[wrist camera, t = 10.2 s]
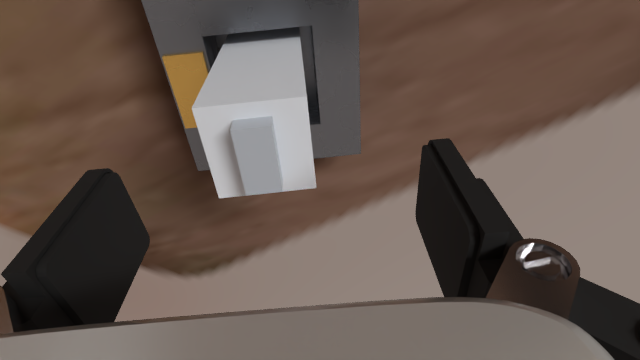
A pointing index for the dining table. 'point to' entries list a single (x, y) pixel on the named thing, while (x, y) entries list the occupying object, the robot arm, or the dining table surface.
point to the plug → (257, 115)
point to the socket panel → (256, 15)
